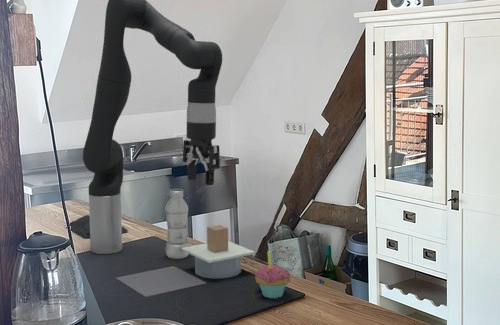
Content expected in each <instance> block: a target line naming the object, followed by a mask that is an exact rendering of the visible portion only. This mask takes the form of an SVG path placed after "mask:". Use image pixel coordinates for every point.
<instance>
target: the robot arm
mask: <svg viewBox="0 0 500 325" xmlns="http://www.w3.org/2000/svg"><path fill="white" fill-rule="evenodd" d="M105 8H106V10H105V20H104V31H103V32H104V34H103V45H102V51H101V52H102V53H101V60H100V66H99V71H98V75H97V80H96V81H97V82H96V87H95V96H94V103H93V107H92V114H91V119H90V123H89V124H90V125H89V129H88V132H87V135H86V140H85V142H84V146H83V151H82V161H83V165H84V166H85V167H86V168H87V170H88V171H90V173H94V175H93V179H92V180H91V181H90V183H89V185H88V209H89V210H88V211H89V213H88V215H89V216H90V239H89V242H90V244H89V246H90V251H91V253H92V254H98V255H106V254H107V255H108V254H110V255H111V254H115V253H119V252H121V251H122V250H123V238H122V237H123V234H122V227H123V226H122V193H121V189H122V184H123V183H124V182H123V180H124V153H123V149H122V146H121V145H120V143H119V142H118V141H116V140H115V139H113V136H114V132H115V128H116V125H117V122H118V120H119V118H120V117H121V115H122V113H123V111H124V109H125V107H126V104H127V102H128V98H129V94H130V90H131V83H132V70H131V67H130V64H129V62H128V58H127V55H126V52H125V46H124V39H125V38H124V37H125V31H126V28H127V29H133V30H134V29H135V30H136V29H138V30H141V31H144V32H146V33H149V34H151V35H152V36H153V37H154V39H155V41H156V42H157V44H159V46H161V47H162V48H164V49H166V50H167V51H169V52H170V53H172V54H174V55H175V57H176V58H177V59H178V61H179V62H180V63H181V64H182V65H183V66H185V67H187V68H189V69H192V70H199V74H198V76H197V78H194V79H191V80H189V82H188V85H187V106H186V107H187V108H186V138H187V139H184V140H183V147H182V149H183V150H182V162H183V163H185V164H186V166H187V180H190V181H195V180H196V179H197V163H198V161H200V162H201V164H202V165H203V166H204V167H203V168H204V169H205V170H204V172H205V173H204V184H205V186H213V185H214V184H215V171H216V170H219V169H220V167H221V165H220V164H221V162H220V160H221V158H220V154H221V153H220V145H218V144H217V145H215V144H214V145H213V142H212V141H213V140H214V139H216V136H217V135H216V134H217V108H216V107H217V106H216V86H217V83H218V80H219V75H220V73H221V68H222V64H223V52H222V49H221V47H220V46H219V45H218V43H216V42H213V41H200V40H196V38H195V36H194V35H193V33H191V32H190V31H189V30H187V29H186V28H183V27H182V26H181V25H179V24H178V23H175V22H174V21H171V20H170V19H169V18H167V17H166V16H165V15H163V14H162V13H161V12H159V11H158V10H157V9H156V8H155V7H154V6H153V5H152V4H151V3H150V2H148V1H147V0H108V2H107V4H106V7H105ZM214 161H215V162H214Z"/></svg>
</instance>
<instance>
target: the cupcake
mask: <svg viewBox="0 0 500 325" xmlns="http://www.w3.org/2000/svg"><path fill="white" fill-rule="evenodd" d="M266 255H267V266H263V267H260V268H259V269H257V271H256V272H255V274H254V276H255V282H256V284H259V286H260V290H261V293H262V296H263V297H264V298H267V297H268V298H267V299H279V298H281V297H283V294H284V291H285V290H286V287H287V285H288V283H290V282H291V274H290V272H289V271H288V270H287V269H285V268H284V267H283V266H280V265H277V264H274V265H273V264H272V259H271V258H272V257H271V251H270V248H267V254H266ZM278 297H279V298H278Z"/></svg>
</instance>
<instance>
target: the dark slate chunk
mask: <svg viewBox="0 0 500 325" xmlns="http://www.w3.org/2000/svg"><path fill="white" fill-rule="evenodd" d="M69 223H70V226H71V231H72V233H73V234H75V235H77V236H78V237H81V238H82V239H84V240H87V239H89V240H90V215H89V214H86V215H83V216H81V217H79V218H77V219H76V220H72V221H69ZM65 229H67V227H66V228H65ZM71 231H70V232H71ZM128 231H129V230H128V229H127V228H125V227H123V226H122V235H123V234H126V233H129V232H128Z"/></svg>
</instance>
